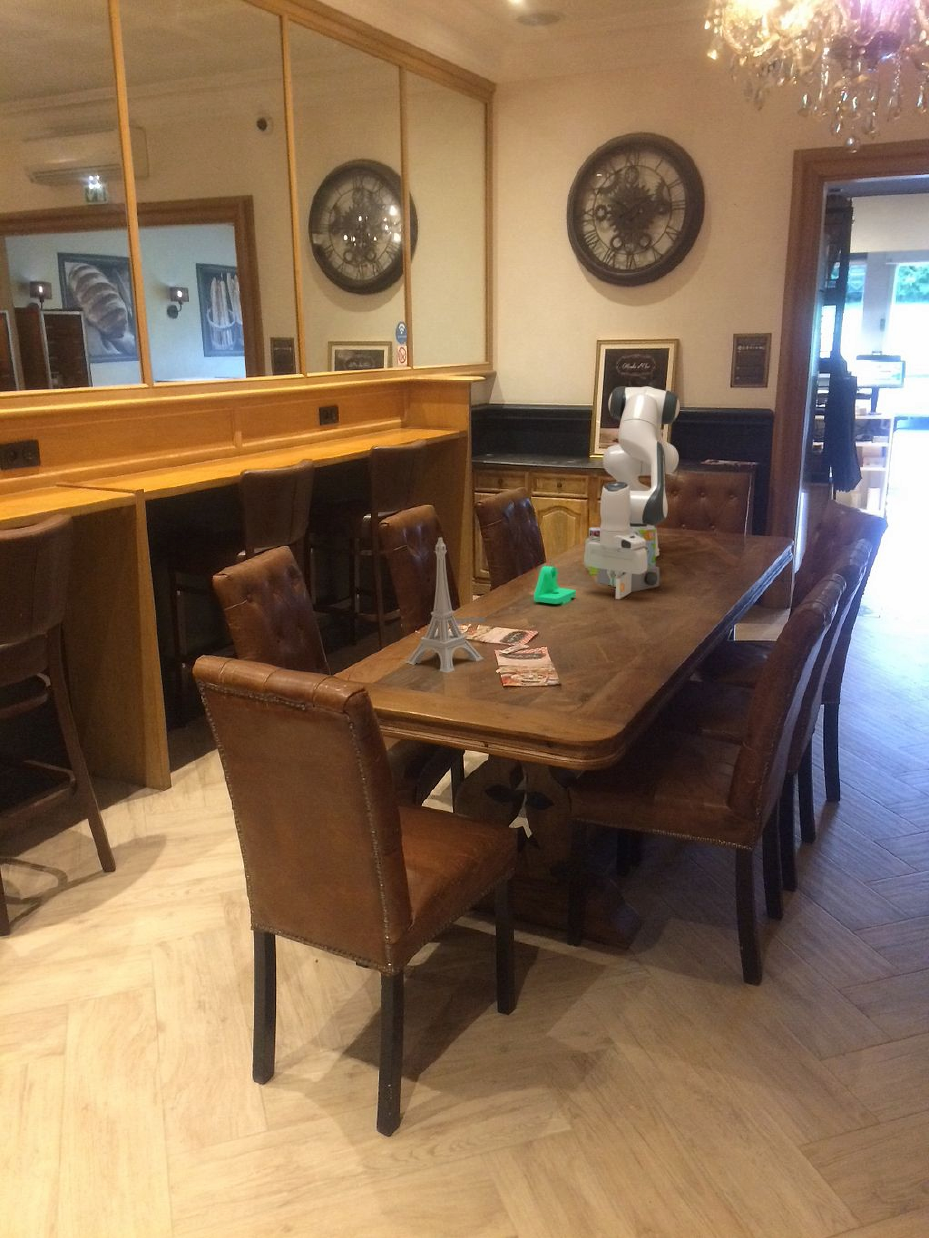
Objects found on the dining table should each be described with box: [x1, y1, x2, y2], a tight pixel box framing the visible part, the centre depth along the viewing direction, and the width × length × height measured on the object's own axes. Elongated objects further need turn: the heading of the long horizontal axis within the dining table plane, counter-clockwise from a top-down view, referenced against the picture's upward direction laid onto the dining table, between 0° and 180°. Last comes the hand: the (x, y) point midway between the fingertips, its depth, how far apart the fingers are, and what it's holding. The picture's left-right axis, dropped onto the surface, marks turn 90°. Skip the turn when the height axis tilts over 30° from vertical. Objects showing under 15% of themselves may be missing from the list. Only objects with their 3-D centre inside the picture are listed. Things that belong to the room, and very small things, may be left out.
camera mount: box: [533, 565, 577, 605], centre depth 288 cm, size 12×8×10 cm, turn 145°
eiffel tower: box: [404, 537, 485, 674], centre depth 233 cm, size 13×13×30 cm
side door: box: [615, 573, 632, 600], centre depth 292 cm, size 10×2×6 cm, turn 150°
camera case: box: [596, 565, 660, 593], centre depth 306 cm, size 17×11×7 cm, turn 33°
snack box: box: [588, 526, 657, 576], centre depth 321 cm, size 21×6×15 cm, turn 84°
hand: (614, 584), depth 292 cm, fingers closed
